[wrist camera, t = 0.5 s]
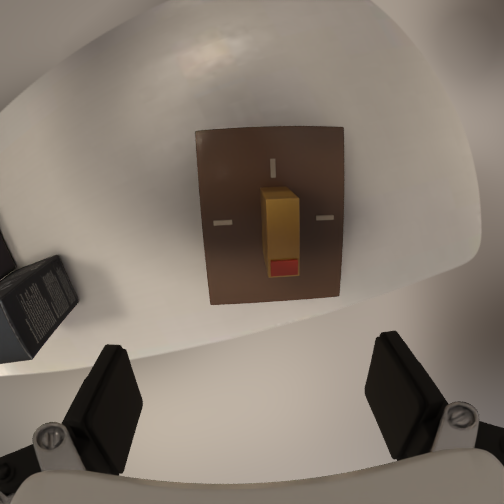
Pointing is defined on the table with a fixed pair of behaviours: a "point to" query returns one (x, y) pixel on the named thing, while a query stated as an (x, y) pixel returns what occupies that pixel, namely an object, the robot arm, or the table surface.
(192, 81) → the table surface
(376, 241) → the table surface
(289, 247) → the lock knob
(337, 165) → the plate
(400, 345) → the robot arm
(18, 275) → the box
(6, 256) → the calculator
